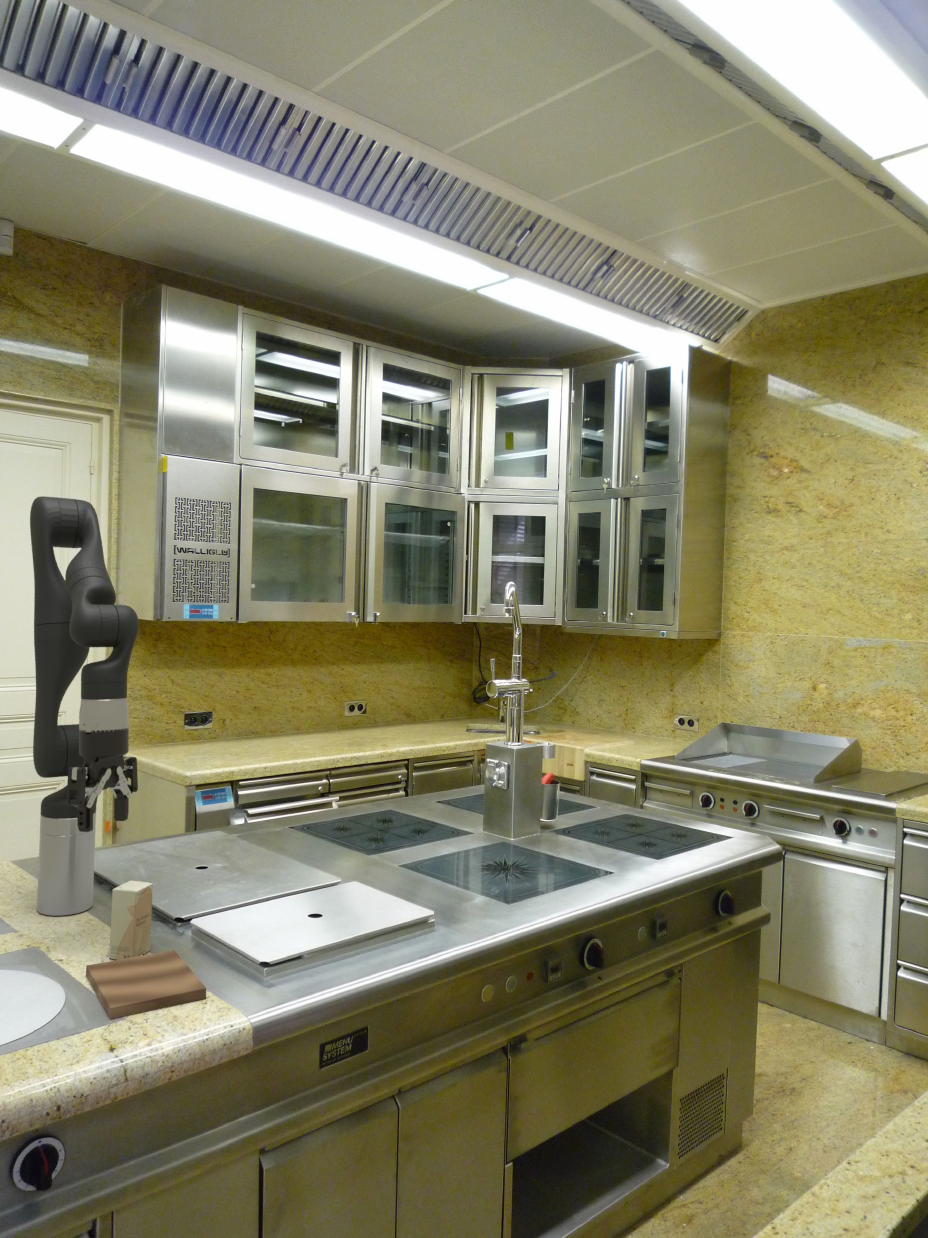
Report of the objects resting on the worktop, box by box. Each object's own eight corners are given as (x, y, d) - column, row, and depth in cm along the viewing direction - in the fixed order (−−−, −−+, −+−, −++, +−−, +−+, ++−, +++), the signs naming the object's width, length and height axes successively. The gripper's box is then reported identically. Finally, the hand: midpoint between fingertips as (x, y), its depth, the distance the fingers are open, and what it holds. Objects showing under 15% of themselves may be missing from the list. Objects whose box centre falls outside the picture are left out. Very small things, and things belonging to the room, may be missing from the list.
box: (132, 963, 137) (135, 892, 137) (107, 959, 138) (110, 889, 138) (151, 950, 142) (154, 882, 142) (127, 947, 143) (129, 879, 143)
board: (85, 975, 131) (86, 965, 131) (173, 959, 139) (174, 950, 139) (110, 1019, 118) (110, 1008, 118) (205, 998, 125) (206, 988, 125)
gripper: (113, 722, 152) (113, 816, 151) (53, 730, 138) (52, 834, 138) (150, 722, 150) (150, 818, 149) (93, 731, 136) (93, 836, 136)
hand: (103, 826), depth 144 cm, fingers open, 8 cm apart
